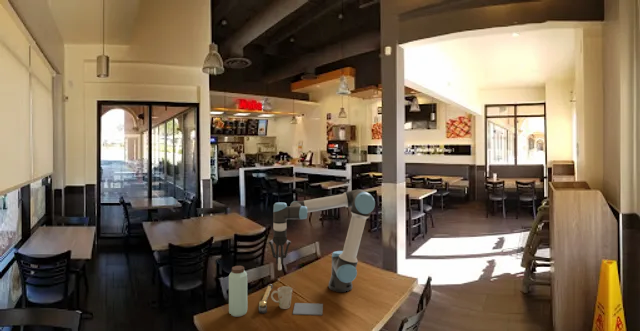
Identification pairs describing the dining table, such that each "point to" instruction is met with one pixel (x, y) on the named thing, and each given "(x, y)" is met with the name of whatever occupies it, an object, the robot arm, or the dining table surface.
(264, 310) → the lever post
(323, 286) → the dining table surface
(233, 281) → the water bottle
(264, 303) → the lever
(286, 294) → the mug
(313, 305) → the mat
